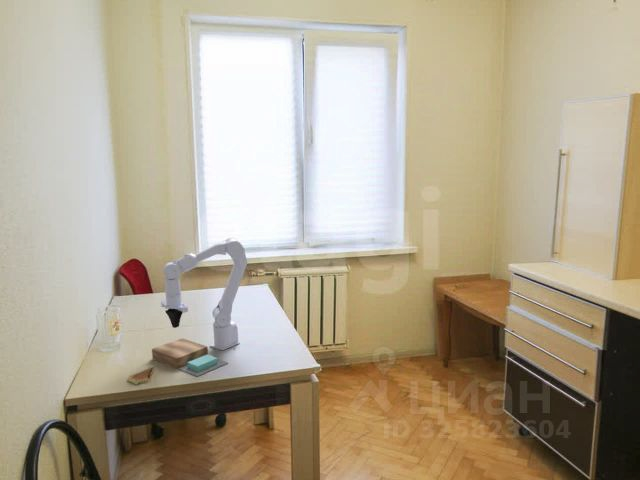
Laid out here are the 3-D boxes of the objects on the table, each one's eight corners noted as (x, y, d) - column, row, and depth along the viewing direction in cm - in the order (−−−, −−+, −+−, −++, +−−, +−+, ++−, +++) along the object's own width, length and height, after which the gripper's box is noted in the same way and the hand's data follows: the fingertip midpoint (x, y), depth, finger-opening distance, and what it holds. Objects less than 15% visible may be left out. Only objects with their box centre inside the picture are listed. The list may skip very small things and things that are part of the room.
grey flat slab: (209, 356, 192) (208, 355, 192) (227, 363, 185) (227, 362, 185) (178, 369, 182) (178, 368, 182) (197, 376, 175) (197, 375, 175)
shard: (153, 370, 182) (153, 365, 182) (166, 375, 178) (165, 370, 177) (126, 381, 174) (126, 376, 174) (139, 386, 169) (138, 381, 169)
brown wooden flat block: (183, 347, 203) (182, 338, 202) (208, 356, 193) (207, 346, 192) (152, 358, 192) (151, 349, 191) (177, 368, 182) (176, 358, 181)
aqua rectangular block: (217, 358, 185) (217, 363, 185) (207, 354, 188) (207, 359, 189) (197, 366, 178) (198, 371, 178) (187, 362, 182) (187, 367, 182)
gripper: (153, 293, 195) (156, 326, 198) (175, 298, 187) (178, 333, 189) (168, 289, 201) (171, 321, 203) (191, 294, 192) (193, 328, 194)
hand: (175, 326), depth 196 cm, fingers closed
